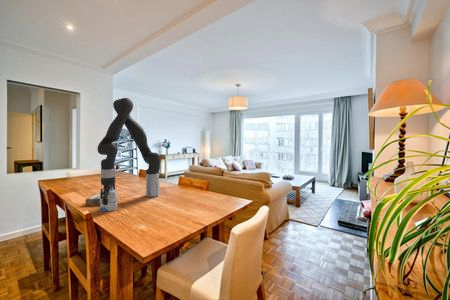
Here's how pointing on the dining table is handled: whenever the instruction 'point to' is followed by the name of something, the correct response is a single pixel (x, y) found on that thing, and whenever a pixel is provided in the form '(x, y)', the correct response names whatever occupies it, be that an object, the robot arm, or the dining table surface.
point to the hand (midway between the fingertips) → (108, 202)
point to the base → (93, 200)
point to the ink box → (109, 202)
